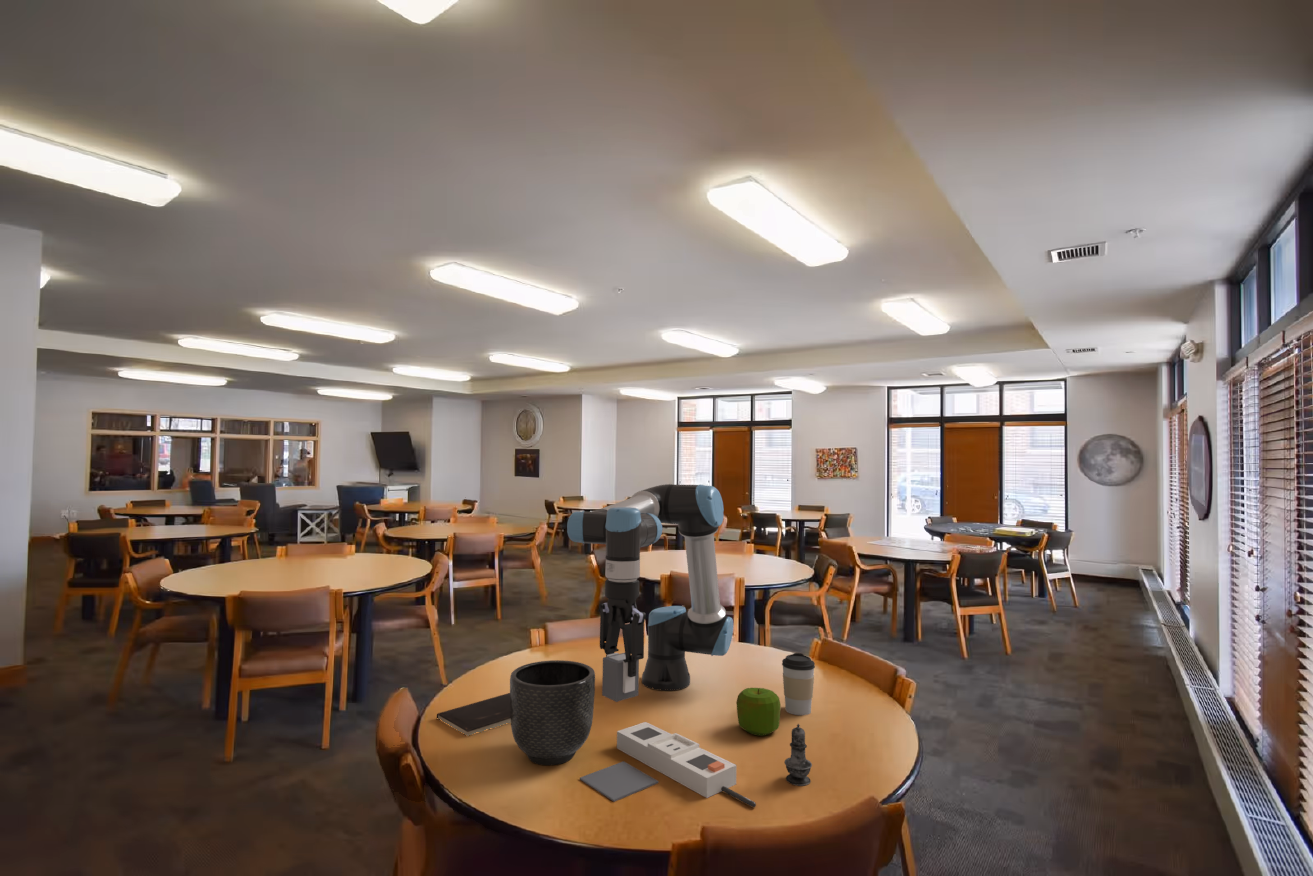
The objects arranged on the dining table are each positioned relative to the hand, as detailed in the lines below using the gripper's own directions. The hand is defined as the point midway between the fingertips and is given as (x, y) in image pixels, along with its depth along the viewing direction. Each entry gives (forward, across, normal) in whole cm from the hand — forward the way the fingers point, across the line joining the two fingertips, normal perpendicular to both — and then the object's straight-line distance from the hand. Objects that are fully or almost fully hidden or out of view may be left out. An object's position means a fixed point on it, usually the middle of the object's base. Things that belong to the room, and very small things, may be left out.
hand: (620, 687), depth 138 cm
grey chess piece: (+20, +24, +30) cm, 44 cm away
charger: (+2, 0, 0) cm, 2 cm away
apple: (+20, +2, +44) cm, 49 cm away
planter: (+20, -20, -4) cm, 29 cm away
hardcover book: (+21, -50, -4) cm, 54 cm away
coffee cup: (+20, 0, +63) cm, 66 cm away
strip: (+20, +6, +14) cm, 25 cm away
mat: (+20, 0, 0) cm, 20 cm away
